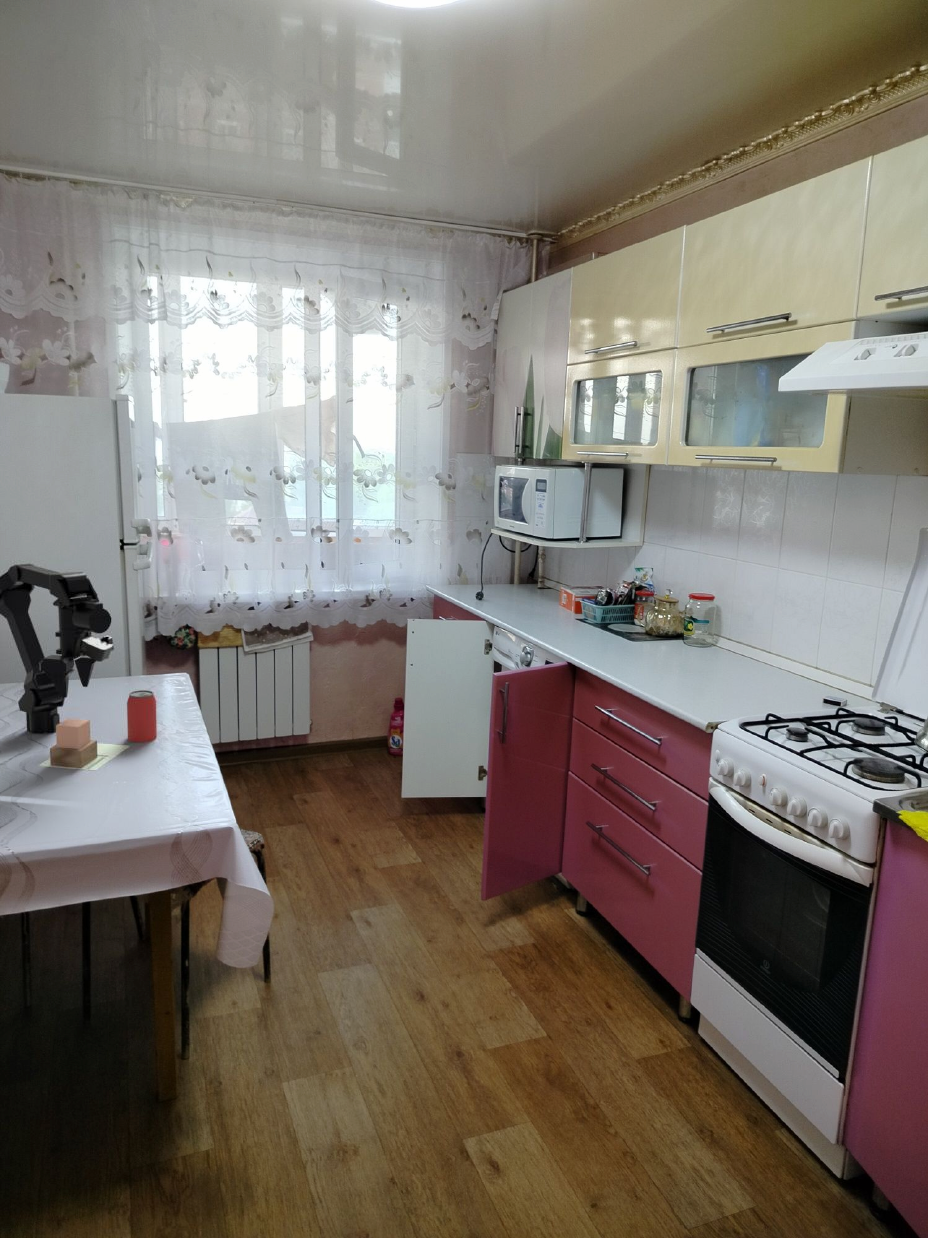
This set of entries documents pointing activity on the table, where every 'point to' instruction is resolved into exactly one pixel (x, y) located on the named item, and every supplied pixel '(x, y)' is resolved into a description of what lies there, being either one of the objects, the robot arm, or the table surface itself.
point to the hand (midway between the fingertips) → (75, 692)
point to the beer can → (141, 716)
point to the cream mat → (104, 755)
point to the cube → (73, 733)
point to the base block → (73, 755)
